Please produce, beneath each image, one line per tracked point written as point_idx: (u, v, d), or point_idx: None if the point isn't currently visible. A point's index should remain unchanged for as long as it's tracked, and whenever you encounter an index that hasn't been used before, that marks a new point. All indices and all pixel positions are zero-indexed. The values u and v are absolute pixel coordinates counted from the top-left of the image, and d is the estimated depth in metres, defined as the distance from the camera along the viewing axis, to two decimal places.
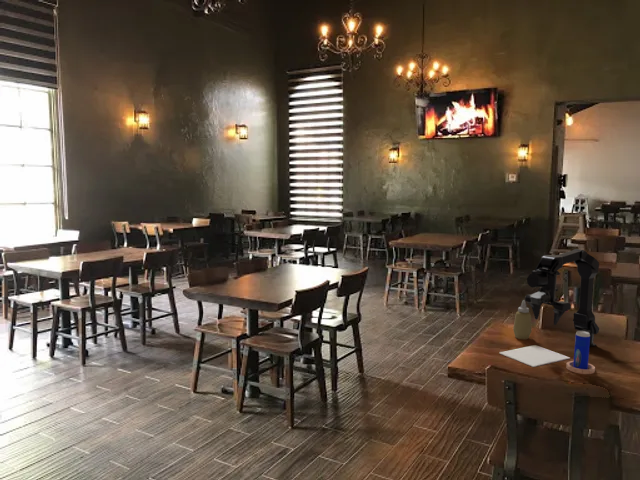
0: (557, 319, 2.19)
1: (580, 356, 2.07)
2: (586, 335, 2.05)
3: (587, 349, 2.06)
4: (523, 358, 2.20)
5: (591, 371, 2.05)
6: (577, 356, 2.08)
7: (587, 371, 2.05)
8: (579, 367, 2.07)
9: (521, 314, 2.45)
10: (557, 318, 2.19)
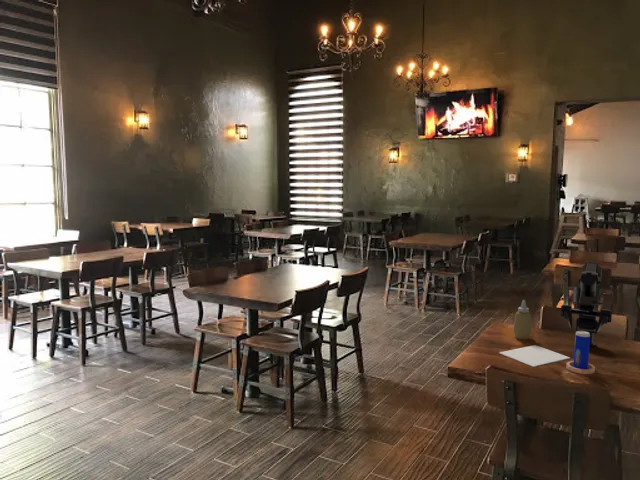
0: (599, 328, 2.13)
1: (580, 356, 2.07)
2: (586, 335, 2.05)
3: (587, 349, 2.06)
4: (523, 358, 2.20)
5: (591, 371, 2.05)
6: (577, 356, 2.08)
7: (587, 371, 2.05)
8: (579, 367, 2.07)
9: (521, 314, 2.45)
10: (600, 326, 2.13)
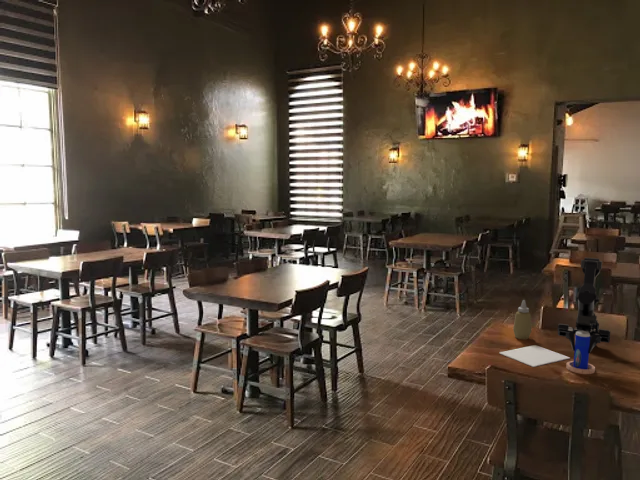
0: (592, 347, 2.07)
1: (580, 356, 2.07)
2: (586, 335, 2.05)
3: (587, 349, 2.06)
4: (523, 358, 2.20)
5: (591, 371, 2.05)
6: (577, 356, 2.08)
7: (587, 371, 2.05)
8: (579, 367, 2.07)
9: (521, 314, 2.45)
10: (593, 346, 2.07)
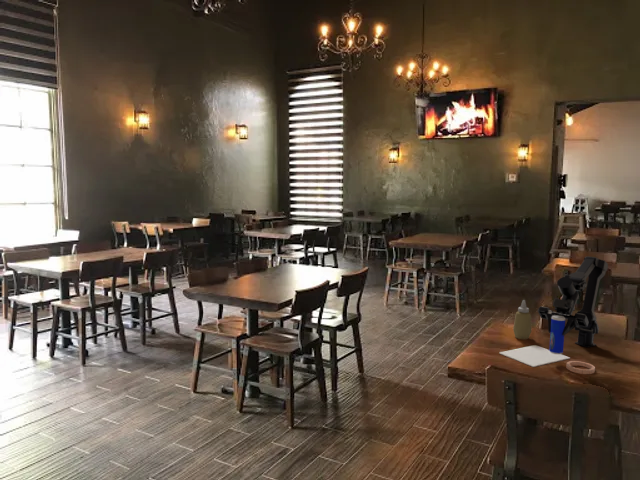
0: (567, 330, 2.12)
1: (554, 339, 2.13)
2: (559, 319, 2.12)
3: (561, 333, 2.12)
4: (523, 358, 2.20)
5: (591, 371, 2.05)
6: (551, 339, 2.14)
7: (587, 371, 2.05)
8: (553, 350, 2.14)
9: (521, 314, 2.45)
10: (567, 329, 2.12)
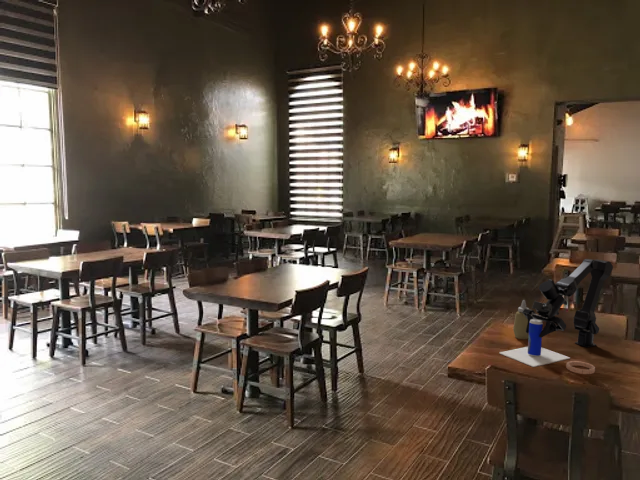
0: (544, 333, 2.20)
1: (530, 341, 2.23)
2: (535, 322, 2.21)
3: (536, 336, 2.21)
4: (523, 358, 2.20)
5: (591, 371, 2.05)
6: (528, 341, 2.24)
7: (587, 371, 2.05)
8: (529, 352, 2.23)
9: (521, 314, 2.45)
10: (545, 332, 2.19)
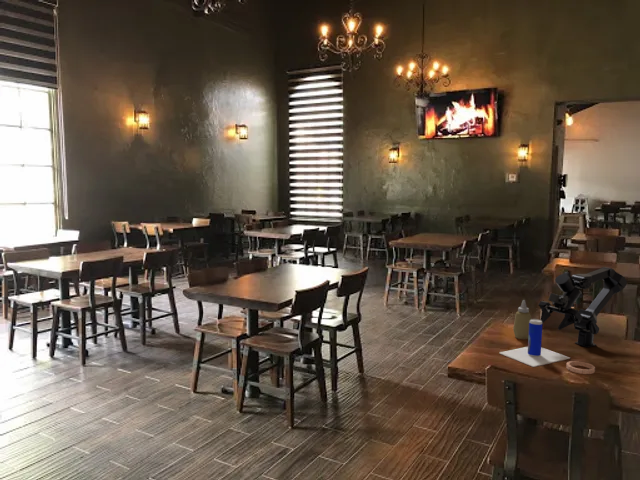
0: (563, 325, 2.23)
1: (530, 341, 2.23)
2: (535, 323, 2.21)
3: (536, 336, 2.21)
4: (523, 358, 2.20)
5: (591, 371, 2.05)
6: (528, 341, 2.24)
7: (587, 371, 2.05)
8: (529, 352, 2.23)
9: (521, 314, 2.45)
10: (564, 324, 2.23)
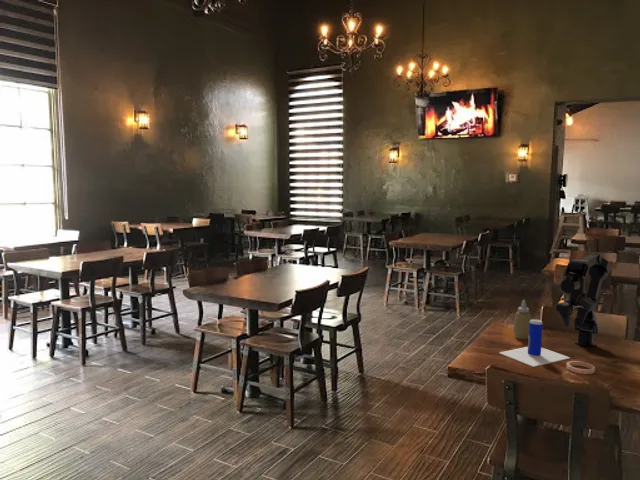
0: None
1: (530, 341, 2.23)
2: (535, 323, 2.21)
3: (536, 336, 2.21)
4: (523, 358, 2.20)
5: (591, 371, 2.05)
6: (528, 341, 2.24)
7: (587, 371, 2.05)
8: (529, 352, 2.23)
9: (521, 314, 2.45)
10: None
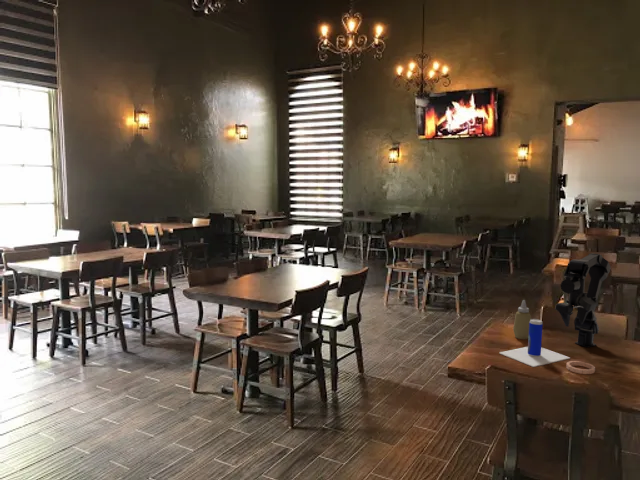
0: None
1: (530, 341, 2.23)
2: (535, 323, 2.21)
3: (536, 336, 2.21)
4: (523, 358, 2.20)
5: (591, 371, 2.05)
6: (528, 341, 2.24)
7: (587, 371, 2.05)
8: (529, 352, 2.23)
9: (521, 314, 2.45)
10: None
